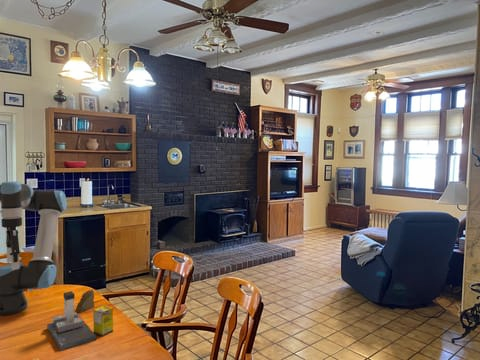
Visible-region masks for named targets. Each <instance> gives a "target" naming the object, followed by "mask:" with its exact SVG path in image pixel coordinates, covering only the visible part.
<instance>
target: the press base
mask: <svg viewBox="0 0 480 360" xmlns="http://www.w3.org/2000/svg"><path fill="white" fill-rule="evenodd" d="M78 315H79V314H78V313H77V312H75V311H74V318H78V317H80V318H81V319H82V321H83V326H82V327H78V328H74V329H71V330H67V331H63V332H60V333H58V331H57V329H56V323H58V322H62V321H65V315H64V314H62V315H58V316H55V317H52V322H51V323H47V324H46V329H47V331H48V333H49V334H50V336H51V337H52V338H53V341H54V342H55V345H57V347H58V349H59V351H64V350H66V349H70V348H74V347H77V346H81V345H83V344H88V343H91V342H94V341H96V340H97V336H96V335H97V334H95V333H94V330H92V329H91V328H90V327H89V325H88V324H87V323H86V322H85V321H84V319H83V318H82V317H81V316H80V315H79V316H78Z"/></svg>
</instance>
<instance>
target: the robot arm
mask: <svg viewBox="0 0 480 360" xmlns="http://www.w3.org/2000/svg"><path fill="white" fill-rule="evenodd" d="M0 205H1V206H0V214H1V227H2V228H6V232H5V235H6V240H5V245H6V261H7V264H4V265H1V266H0V316H11V315H14V314H18V313H21V312H23V311H25V310H26V309H27V308H28V307H29V305H28V300H27V298H26V295H25V293H24V290H35V289H39V290H43V289H48V288H50V287H51V286H53V284H54V282H55V279H56V276H57V265H56V264H54V261H53V260H52V255H53V250H54V244H55V237H56V230H57V224H58V220H59V217H61V215H62V214H63V213H62V212H65V211H66V210H67V207H68V205H67V197H66V194H65V192H64V191H63V190H56V189H54V190H50V189H49V190H48V189H47V190H36V189H35V190H34V188H33V187H32V186H31V185H30V184H27V183H21V182H19V181H2V182H1V183H0ZM23 210H25V211H31V212H38V215H40V216H39V218H40V219H39V222H38V229H37V233H36V234H37V235H36V240H35V244H34V248H33V249H34V250H33V256H32V258H31V259H30V260H28V263H27V264H28V265H24V263H23V262H22V261H20V253H21V251H20V242H19V231H18V229H17V228H18V227H21V226H22V225H23V217H22V216H23Z"/></svg>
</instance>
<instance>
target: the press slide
mask: <svg viewBox="0 0 480 360" xmlns="http://www.w3.org/2000/svg"><path fill="white" fill-rule="evenodd" d="M75 297H76V296H75V293H74V292H73V290H71V291H67V292H63V298H64V299H63V300H64V301H63V306H64V309H63V310H64V311H63V312H64V314H63V315H65V321H62V322H58V323H56V329H57V331H58V333H60V332H63V331H67V330H71V329H74V328H78V327H82V326H83V321H84V320H83V318H82V317H81V316H80V317H81V318H82V319H81V318H80V317H78V318H74V312H75ZM82 320H83V321H82Z"/></svg>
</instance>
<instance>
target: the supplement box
mask: <svg viewBox="0 0 480 360" xmlns="http://www.w3.org/2000/svg"><path fill="white" fill-rule="evenodd" d="M113 309H114V308H113V307H111V306H107V305H101V306H99V307H97V308H94V309H93V310H92V311H93V333H94V334H95V335H97V336H100V337H104V336H107V335H108V334H110V333H113V332H114V311H113Z"/></svg>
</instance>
